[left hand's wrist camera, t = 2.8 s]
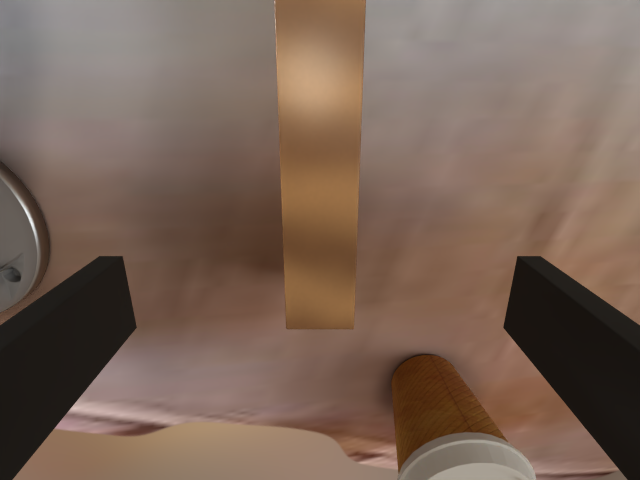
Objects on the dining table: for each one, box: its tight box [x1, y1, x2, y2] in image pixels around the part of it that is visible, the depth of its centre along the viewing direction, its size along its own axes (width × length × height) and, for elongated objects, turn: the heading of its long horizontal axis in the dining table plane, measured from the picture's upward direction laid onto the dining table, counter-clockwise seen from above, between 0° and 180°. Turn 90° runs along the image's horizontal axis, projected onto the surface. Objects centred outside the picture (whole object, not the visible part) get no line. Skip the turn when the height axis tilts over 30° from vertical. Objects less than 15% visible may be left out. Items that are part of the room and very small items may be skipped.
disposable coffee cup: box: [391, 355, 536, 480], centre depth 30 cm, size 10×10×12 cm
